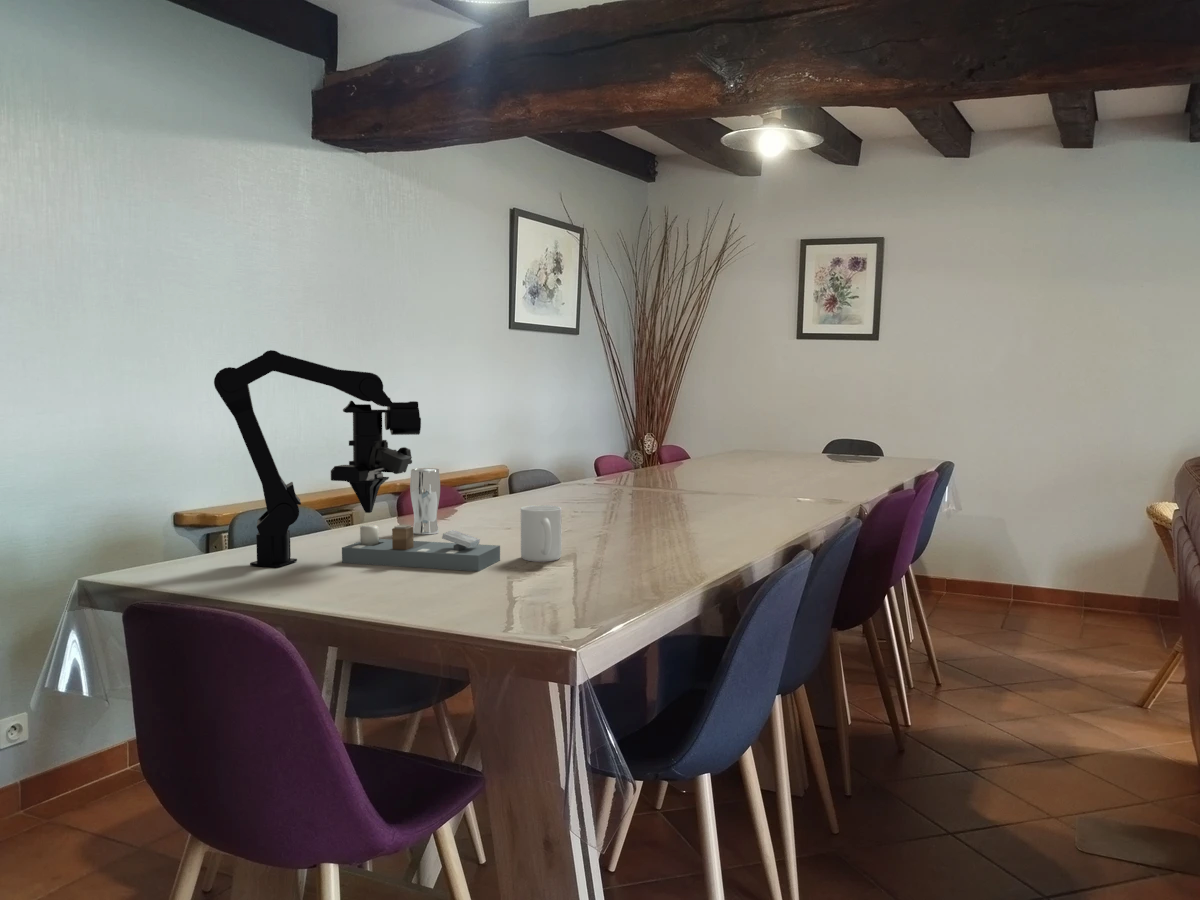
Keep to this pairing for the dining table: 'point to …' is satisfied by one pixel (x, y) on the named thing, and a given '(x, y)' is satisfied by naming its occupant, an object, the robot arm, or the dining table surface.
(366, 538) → the white rounded cube
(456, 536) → the rocker paddle
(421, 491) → the beer glass
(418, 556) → the console
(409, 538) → the slider knob
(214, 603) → the dining table surface
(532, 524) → the mug
